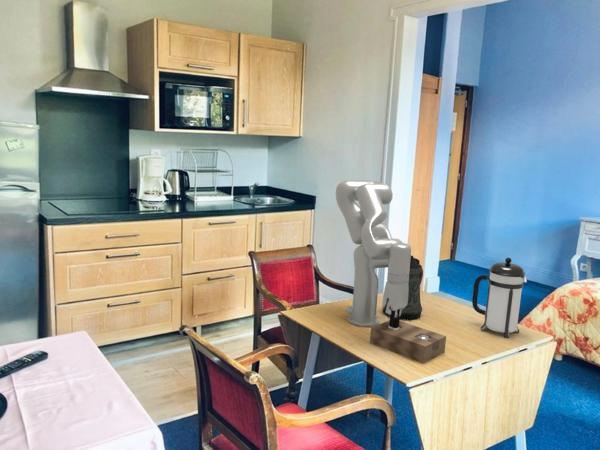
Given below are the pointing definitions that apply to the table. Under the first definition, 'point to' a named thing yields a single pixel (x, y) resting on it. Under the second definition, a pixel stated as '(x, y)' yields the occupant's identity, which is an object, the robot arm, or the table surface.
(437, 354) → the walnut block
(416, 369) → the table surface
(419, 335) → the peg
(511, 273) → the coffee press
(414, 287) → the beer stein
